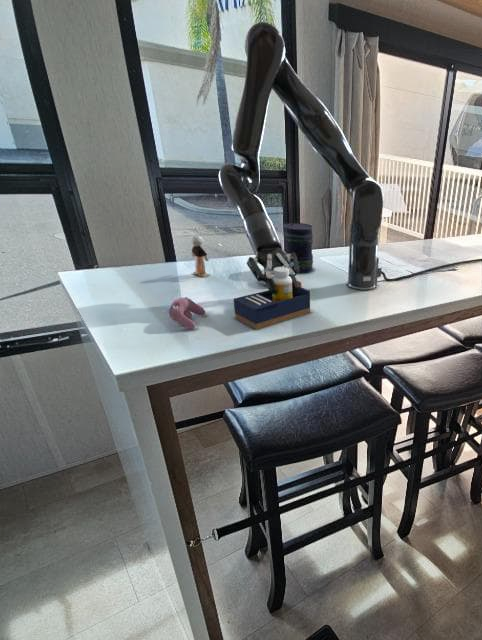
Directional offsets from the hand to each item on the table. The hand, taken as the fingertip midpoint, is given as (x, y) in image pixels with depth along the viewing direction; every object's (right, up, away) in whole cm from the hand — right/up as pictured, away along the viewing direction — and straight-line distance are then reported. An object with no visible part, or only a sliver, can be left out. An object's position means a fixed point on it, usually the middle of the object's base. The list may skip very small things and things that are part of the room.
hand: (285, 291), depth 113 cm
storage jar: (-6, +16, +38) cm, 42 cm away
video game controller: (-23, -9, -6) cm, 26 cm away
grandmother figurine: (-33, +10, +23) cm, 42 cm away
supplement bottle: (-2, -3, +3) cm, 5 cm away
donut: (-11, +8, +24) cm, 28 cm away
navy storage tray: (-4, -6, +2) cm, 8 cm away
